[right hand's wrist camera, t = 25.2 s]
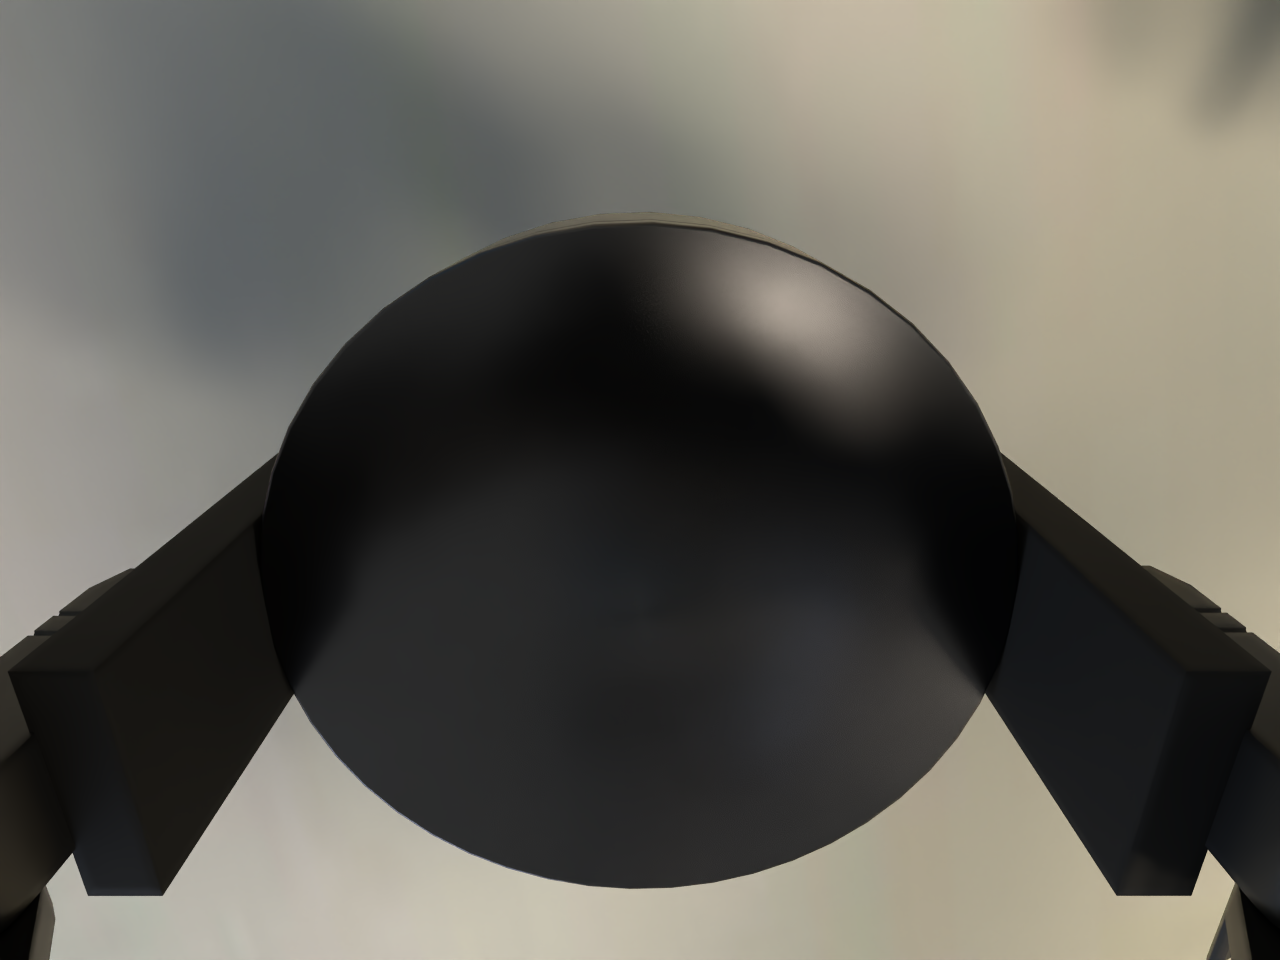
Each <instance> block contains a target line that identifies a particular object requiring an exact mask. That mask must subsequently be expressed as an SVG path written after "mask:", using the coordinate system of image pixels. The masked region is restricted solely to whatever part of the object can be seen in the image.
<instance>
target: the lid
mask: <svg viewBox="0 0 1280 960" xmlns="http://www.w3.org/2000/svg"><path fill="white" fill-rule="evenodd" d="M260 571H261V581H262V590H263V596H264V601H265V607H266V611H267V616H268V621H269V625H270V630H271V635H272V639H273V644H274V648H275V650H276V653H277V655H278V658H279V660H280V663H281V665H282V668H283V670H284V673H285V675H286V678H287V680H288V683H289V685H290V687H291V689H292V691H293V693H294V694H295V696H296V698H297V700H298V701H299V703H300V705H301V707H302V708H303V710H304V712H305V714H306V715H307V717H308V719H309V721H310V722H311V724H312V725H313V726H314V728H315V729H316V730H317V732H318V733H319V734H320V736H321V737H322V738H323V740H324V741H325V742H326V744H327V745H328V746H329V748H330V749H331V750H332V752H333V753H334V754H335V756H336V757H337V758H338V759H339V760H340V761H341V762H342V763H343V764H344V765H345V766H346V767H347V768H348V769H349V770H350V771H351V772H352V773H353V774H354V775H355V776H356V777H357V778H358V779H359V780H360V781H361V782H362V784H363V785H364V786H366V787H367V788H368V789H369V790H370V791H372V792H373V793H374V794H375V795H377V796H378V797H379V798H380V799H381V800H383V801H384V802H385V803H386V804H388V805H389V806H390V807H391V808H392V809H394V810H395V811H396V812H397V813H399V814H401V815H402V816H404V817H405V818H407V819H408V820H410V821H411V822H413V823H414V824H416V825H418V826H419V827H421V828H422V829H424V830H425V831H427V832H428V833H430V834H431V835H433V836H435V837H437V838H439V839H441V840H443V841H445V842H447V843H449V844H451V845H453V846H455V847H457V848H459V849H461V850H463V851H465V852H467V853H469V854H472V855H474V856H477V857H480V858H482V859H485V860H487V861H490V862H493V863H495V864H498V865H501V866H503V867H506V868H509V869H512V870H516V871H520V872H523V873H527V874H531V875H535V876H538V877H542V878H546V879H550V880H556V881H562V882H568V883H574V884H580V885H586V886H597V887H611V888H625V889H643V888H674V887H682V886H690V885H698V884H706V883H714V882H718V881H722V880H727V879H731V878H736V877H740V876H745V875H749V874H754V873H757V872H760V871H763V870H766V869H769V868H772V867H775V866H778V865H781V864H784V863H787V862H790V861H793V860H795V859H797V858H800V857H802V856H804V855H806V854H809V853H811V852H813V851H815V850H818V849H820V848H822V847H824V846H827V845H829V844H831V843H833V842H834V841H836V840H838V839H840V838H841V837H843V836H845V835H846V834H848V833H850V832H852V831H853V830H855V829H857V828H858V827H860V826H862V825H864V824H865V823H867V822H868V821H870V820H871V819H872V818H874V817H875V816H876V815H878V814H879V813H881V812H882V811H883V810H885V809H886V808H887V807H889V806H890V805H891V804H893V803H894V802H895V801H897V800H898V799H900V798H901V797H902V796H903V795H904V794H905V793H906V792H907V791H908V790H909V789H910V788H911V787H913V786H914V785H915V784H916V783H917V782H918V781H919V780H920V779H921V778H922V777H923V776H924V775H925V774H927V773H928V772H929V771H930V770H931V769H932V767H933V766H934V765H935V764H936V763H937V761H938V760H939V759H940V758H941V757H942V756H943V754H944V753H945V752H946V751H947V750H948V748H949V747H950V746H951V745H952V744H953V743H954V741H955V740H956V739H957V738H958V736H959V735H960V733H961V732H962V730H963V729H964V727H965V725H966V724H967V722H968V721H969V719H970V718H971V716H972V715H973V713H974V712H975V710H976V709H977V707H978V705H979V704H980V702H981V700H982V698H983V696H984V694H985V692H986V689H987V687H988V685H989V683H990V681H991V679H992V677H993V675H994V673H995V671H996V668H997V666H998V664H999V661H1000V658H1001V654H1002V651H1003V648H1004V645H1005V642H1006V639H1007V635H1008V632H1009V628H1010V623H1011V618H1012V613H1013V608H1014V603H1015V597H1016V590H1017V584H1018V530H1017V523H1016V516H1015V509H1014V502H1013V495H1012V490H1011V486H1010V483H1009V480H1008V476H1007V473H1006V470H1005V467H1004V463H1003V460H1002V457H1001V453H1000V450H999V447H998V445H997V443H996V441H995V438H994V436H993V434H992V432H991V430H990V428H989V426H988V424H987V422H986V420H985V418H984V416H983V414H982V412H981V410H980V407H979V405H978V403H977V402H976V400H975V399H974V397H973V396H972V395H971V393H970V392H969V390H968V389H967V387H966V386H965V384H964V383H963V382H962V380H961V379H960V377H959V376H958V374H957V373H956V371H955V370H954V369H953V367H952V366H951V364H950V363H949V361H948V360H947V359H946V358H945V357H944V356H943V355H942V354H941V353H940V352H939V351H938V350H937V349H936V348H935V347H934V346H933V344H932V343H931V342H930V341H929V340H928V339H927V338H926V337H925V336H924V335H923V334H922V333H921V332H920V331H919V330H918V329H917V327H916V326H915V325H914V324H913V323H911V322H910V321H909V320H908V319H906V318H905V317H904V316H902V315H901V314H900V313H899V312H897V311H896V310H895V309H894V308H892V307H891V306H890V305H888V304H887V303H886V302H885V301H883V300H882V299H881V298H880V297H878V296H877V295H876V294H874V293H873V292H872V291H871V290H869V289H867V288H865V287H864V286H862V285H860V284H858V283H857V282H855V281H853V280H851V279H850V278H848V277H846V276H845V275H843V274H841V273H839V272H838V271H836V270H834V269H832V268H831V267H829V266H827V265H825V264H824V263H822V262H820V261H818V260H816V259H815V258H813V257H811V256H809V255H807V254H806V253H804V252H802V251H800V250H798V249H797V248H795V247H793V246H790V245H788V244H785V243H783V242H780V241H778V240H775V239H773V238H770V237H768V236H765V235H763V234H760V233H758V232H755V231H753V230H750V229H747V228H743V227H739V226H735V225H731V224H727V223H723V222H719V221H715V220H710V219H706V218H702V217H695V216H685V215H675V214H665V213H655V212H638V213H612V214H597V215H592V216H586V217H581V218H575V219H569V220H564V221H558V222H552V223H549V224H546V225H543V226H540V227H537V228H534V229H531V230H528V231H525V232H522V233H518V234H515V235H512V236H509V237H506V238H504V239H502V240H500V241H498V242H496V243H494V244H492V245H490V246H488V247H486V248H483V249H481V250H479V251H477V252H475V253H473V254H471V255H469V256H467V257H465V258H463V259H461V260H459V261H458V262H456V263H454V264H452V265H450V266H448V267H447V268H445V269H443V270H441V271H439V272H437V273H436V274H434V275H432V276H430V277H428V278H427V279H426V280H424V281H423V282H421V283H420V284H418V285H417V286H415V287H414V288H412V289H411V290H409V291H408V292H407V293H405V294H404V295H402V296H401V297H399V298H398V299H396V300H395V301H393V302H392V303H390V304H389V305H388V306H386V307H385V308H383V309H382V310H381V311H380V312H379V313H378V314H377V315H376V316H375V317H374V318H373V319H371V320H370V321H369V322H368V323H367V324H366V325H365V326H364V327H363V328H362V329H361V330H360V331H358V332H357V333H356V334H355V335H354V336H353V337H352V338H351V339H350V340H349V341H348V342H347V343H346V344H345V345H344V346H343V347H342V348H341V350H340V351H339V352H338V353H337V355H336V356H335V357H334V358H333V360H332V361H331V362H330V363H329V365H328V366H327V367H326V368H325V370H324V371H323V372H322V373H321V375H320V376H319V377H318V378H317V380H316V381H315V382H314V383H313V385H312V387H311V389H310V390H309V392H308V394H307V396H306V397H305V399H304V401H303V403H302V404H301V406H300V408H299V409H298V411H297V413H296V415H295V416H294V418H293V420H292V422H291V423H290V425H289V427H288V430H287V432H286V435H285V438H284V440H283V443H282V445H281V448H280V451H279V453H278V456H277V459H276V461H275V464H274V466H273V469H272V472H271V477H270V481H269V486H268V491H267V496H266V500H265V505H264V510H263V514H262V528H261V546H260Z"/></svg>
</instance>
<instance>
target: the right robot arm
mask: <svg viewBox="0 0 1280 960" xmlns="http://www.w3.org/2000/svg"><path fill="white" fill-rule="evenodd" d="M1000 453H1001V452H1000ZM277 456H278V454H276V455H275V456H274V457H273V458H271V459H270V460H269V461H268V462H266V463H265V464H264V465H263V466H261V467H260V468H259V469H258V470H257V471H255V472H254V473H253V474H252V475H250V476H249V477H248V478H247V479H245V480H244V481H243V482H242V483H240V484H239V485H238V486H237V487H235V488H234V489H233V490H232V491H230V492H229V493H228V494H227V495H226V496H224V497H223V498H222V499H221V500H219V501H218V502H217V503H216V504H214V505H213V506H212V507H211V508H209V509H208V510H207V511H206V512H204V513H203V514H202V515H201V516H199V517H198V518H197V519H196V520H195V521H193V522H192V523H191V524H190V525H188V526H187V527H186V528H185V529H183V530H182V531H181V532H180V533H178V534H177V535H176V536H175V537H173V538H172V539H171V540H170V541H168V542H167V543H166V544H165V545H164V546H162V547H161V548H160V549H159V550H157V551H156V552H155V553H154V554H152V555H151V556H150V557H149V558H147V559H146V560H145V561H144V562H142V563H141V564H140V565H139V566H138V567H136V568H135V569H128V570H126V571H124V572H122V573H120V574H118V575H116V576H114V577H112V578H109V579H107V580H105V581H103V582H101V583H99V584H97V585H95V586H93V587H91V588H89V589H88V590H86V591H85V592H84V593H82V594H81V595H80V596H78V597H77V598H76V599H75V600H73V601H72V602H71V603H69V604H68V605H67V606H66V607H64V608H63V609H62V610H60V611H59V613H60V614H59V616H53V617H51V618H50V619H49V620H48V621H46V622H45V623H44V624H42V625H41V626H40V627H39V628H37V629H36V630H35V631H34V632H35V633H34V636H27V637H26V638H24V639H23V640H22V641H20V642H19V643H18V644H17V645H15V646H14V647H13V648H11V649H10V650H9V651H8V652H6V653H5V654H4V655H2V656H1V657H0V960H49V958H50V951H51V945H52V938H53V931H54V925H55V915H54V909H53V903H52V901H51V898H50V895H49V893H48V890H47V888H46V884H47V883H48V882H49V881H50V879H51V878H52V877H53V876H54V874H55V873H56V872H57V871H58V870H59V868H60V867H61V866H62V865H63V863H64V862H65V861H66V860H67V859H68V857H69V856H70V855H71V854H72V852H73V855H74V858H75V861H76V864H77V866H78V869H79V872H80V875H81V877H82V880H83V883H84V886H85V889H86V891H87V894H88V896H163V894H164V893H165V891H166V890H167V888H168V887H169V885H170V884H171V882H172V881H173V879H174V878H175V876H176V874H177V873H178V871H179V870H180V868H181V867H182V865H183V864H184V862H185V861H186V859H187V858H188V856H189V854H190V853H191V851H192V850H193V848H194V847H195V845H196V844H197V842H198V841H199V839H200V837H201V836H202V834H203V833H204V831H205V830H206V828H207V827H208V825H209V824H210V822H211V821H212V819H213V817H214V816H215V814H216V813H217V811H218V810H219V808H220V807H221V805H222V804H223V802H224V801H225V799H226V797H227V796H228V794H229V793H230V791H231V790H232V788H233V787H234V785H235V784H236V782H237V781H238V779H239V777H240V776H241V774H242V773H243V771H244V770H245V768H246V767H247V765H248V764H249V762H250V760H251V759H252V757H253V756H254V754H255V753H256V751H257V750H258V748H259V747H260V745H261V744H262V742H263V740H264V739H265V737H266V736H267V734H268V733H269V731H270V730H271V728H272V727H273V725H274V724H275V722H276V720H277V719H278V717H279V716H280V714H281V713H282V711H283V710H284V708H285V707H286V705H287V704H288V702H289V700H290V699H291V697H292V696H293V694H294V693H293V691H292V689H291V687H290V685H289V683H288V680H287V678H286V675H285V673H284V670H283V668H282V665H281V663H280V660H279V658H278V655H277V653H276V650H275V648H274V644H273V639H272V635H271V630H270V625H269V621H268V616H267V611H266V607H265V601H264V596H263V590H262V581H261V571H260V546H261V528H262V514H263V510H264V505H265V500H266V496H267V491H268V486H269V481H270V477H271V472H272V469H273V466H274V464H275V461H276V459H277ZM1001 457H1002V460H1003V463H1004V467H1005V470H1006V473H1007V476H1008V480H1009V483H1010V486H1011V490H1012V495H1013V502H1014V509H1015V516H1016V523H1017V530H1018V584H1017V590H1016V597H1015V603H1014V608H1013V613H1012V618H1011V623H1010V628H1009V632H1008V635H1007V639H1006V642H1005V645H1004V648H1003V651H1002V654H1001V658H1000V661H999V664H998V666H997V668H996V671H995V673H994V675H993V677H992V679H991V681H990V683H989V685H988V687H987V689H986V692H985V694H986V695H987V697H988V698H989V700H990V701H991V703H992V704H993V706H994V707H995V709H996V710H997V712H998V714H999V715H1000V717H1001V718H1002V720H1003V721H1004V723H1005V724H1006V726H1007V727H1008V729H1009V730H1010V732H1011V734H1012V735H1013V737H1014V738H1015V740H1016V741H1017V743H1018V744H1019V746H1020V747H1021V749H1022V750H1023V752H1024V754H1025V755H1026V757H1027V758H1028V760H1029V761H1030V763H1031V764H1032V766H1033V767H1034V769H1035V771H1036V772H1037V774H1038V775H1039V777H1040V778H1041V780H1042V781H1043V783H1044V784H1045V786H1046V787H1047V789H1048V791H1049V792H1050V794H1051V795H1052V797H1053V798H1054V800H1055V801H1056V803H1057V804H1058V806H1059V807H1060V809H1061V811H1062V812H1063V814H1064V815H1065V817H1066V818H1067V820H1068V821H1069V823H1070V824H1071V826H1072V828H1073V829H1074V831H1075V832H1076V834H1077V835H1078V837H1079V838H1080V840H1081V841H1082V843H1083V844H1084V846H1085V848H1086V849H1087V851H1088V852H1089V854H1090V855H1091V857H1092V858H1093V860H1094V861H1095V863H1096V864H1097V866H1098V868H1099V869H1100V871H1101V872H1102V874H1103V875H1104V877H1105V878H1106V880H1107V881H1108V883H1109V885H1110V886H1111V888H1112V889H1113V891H1114V892H1115V894H1116V895H1117V896H1191V895H1192V892H1193V890H1194V887H1195V884H1196V881H1197V878H1198V876H1199V873H1200V870H1201V867H1202V864H1203V862H1204V859H1205V856H1206V853H1207V850H1209V851H1210V852H1211V854H1212V855H1213V856H1214V857H1215V858H1216V860H1217V861H1218V862H1219V863H1220V864H1221V866H1222V867H1223V868H1224V869H1225V871H1226V872H1227V873H1228V874H1229V875H1230V877H1231V878H1232V879H1233V880H1234V881H1235V885H1234V888H1233V890H1232V893H1231V895H1230V898H1229V901H1228V903H1227V906H1226V908H1225V911H1224V914H1223V916H1222V919H1221V921H1220V924H1219V927H1218V929H1217V932H1216V934H1215V937H1214V940H1213V942H1212V945H1211V947H1210V950H1209V953H1208V955H1207V959H1206V960H1227V959H1229V958H1231V960H1280V653H1278V652H1277V651H1276V650H1275V649H1273V648H1272V647H1271V646H1269V645H1268V644H1267V643H1265V642H1264V641H1263V640H1262V639H1260V638H1259V637H1258V636H1256V635H1255V634H1254V633H1247V632H1246V627H1245V626H1243V625H1242V624H1241V623H1239V622H1238V621H1237V620H1236V619H1234V618H1233V617H1232V616H1230V615H1229V614H1228V613H1221V608H1220V607H1219V606H1217V605H1216V604H1215V603H1213V602H1212V601H1211V600H1210V599H1208V598H1207V597H1206V596H1204V595H1203V594H1202V593H1200V592H1199V591H1198V590H1197V589H1195V588H1194V587H1193V586H1191V585H1189V584H1187V583H1185V582H1183V581H1181V580H1179V579H1177V578H1175V577H1173V576H1171V575H1168V574H1166V573H1164V572H1162V571H1160V570H1158V569H1156V568H1154V567H1152V566H1141V565H1139V564H1138V563H1137V562H1136V561H1134V560H1133V559H1132V558H1131V557H1130V556H1128V555H1127V554H1126V553H1125V552H1123V551H1122V550H1121V549H1120V548H1118V547H1117V546H1116V545H1115V544H1113V543H1112V542H1111V541H1110V540H1108V539H1107V538H1106V537H1105V536H1104V535H1102V534H1101V533H1100V532H1099V531H1097V530H1096V529H1095V528H1094V527H1092V526H1091V525H1090V524H1089V523H1087V522H1086V521H1085V520H1084V519H1082V518H1081V517H1080V516H1079V515H1077V514H1076V513H1075V512H1074V511H1073V510H1071V509H1070V508H1069V507H1068V506H1066V505H1065V504H1064V503H1063V502H1061V501H1060V500H1059V499H1058V498H1056V497H1055V496H1054V495H1053V494H1051V493H1050V492H1049V491H1048V490H1047V489H1045V488H1044V487H1043V486H1042V485H1040V484H1039V483H1038V482H1037V481H1035V480H1034V479H1033V478H1032V477H1030V476H1029V475H1028V474H1027V473H1025V472H1024V471H1023V470H1022V469H1020V468H1019V467H1018V466H1017V465H1016V464H1014V463H1013V462H1012V461H1011V460H1009V459H1008V458H1007V457H1006V456H1004V455H1003V454H1002V453H1001Z"/></svg>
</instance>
